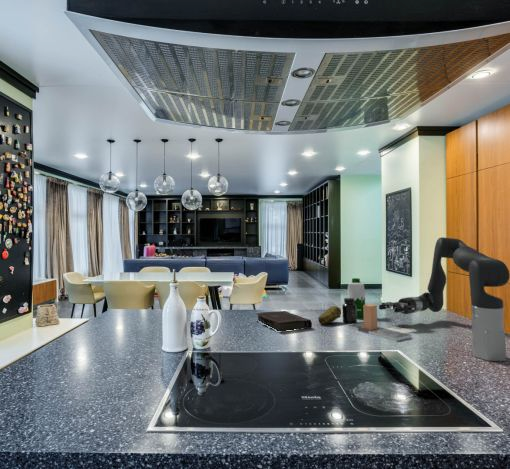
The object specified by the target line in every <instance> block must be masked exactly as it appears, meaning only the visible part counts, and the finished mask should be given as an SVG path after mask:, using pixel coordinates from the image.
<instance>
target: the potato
mask: <svg viewBox="0 0 510 469" xmlns="http://www.w3.org/2000/svg"><path fill="white" fill-rule="evenodd" d="M341 315H342V310H341V308H340V307H338V306H330V307H329V308H327V309H326V310H325V311H324V313H322V314H320V316H318V322H319V324H321V325H327V324H332V322H335V321H336V320H337V319H339V318H341Z"/></svg>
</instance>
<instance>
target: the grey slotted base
mask: <svg viewBox="0 0 510 469" xmlns="http://www.w3.org/2000/svg"><path fill="white" fill-rule="evenodd" d="M347 325H348V326H347V327H348V329H350V330H354V331H358V332H361V333H364V334H367V335H368V334H369V335H371V336H375V337H379V338H383V339H385V340H390V341H392V342H400V341H406V340H408V339H409V340H410V339H412V334H409V333H401V332H397V331H393V330H389V329H388V328H385V327H380V326H377V329H374V330H368V329H364V322H359V323H358V322H357V323H354V324H347Z"/></svg>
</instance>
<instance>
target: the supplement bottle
mask: <svg viewBox="0 0 510 469" xmlns="http://www.w3.org/2000/svg"><path fill="white" fill-rule="evenodd" d="M341 308H342V310H341V312H342V323H343V324H345V325H353V324H358V318H357V307H356V304H354V298H348V297H345V298H343V303H342V306H341Z"/></svg>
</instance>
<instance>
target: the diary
mask: <svg viewBox="0 0 510 469" xmlns="http://www.w3.org/2000/svg"><path fill="white" fill-rule="evenodd" d="M255 315H256V316H257V321H258V320H259V321H261V322H262V323H264V324H266V325H268V326H270V327H272V328H274V329H276V330H277V331H286V330H294V329H299V330H302V329H301V328H304V329H308V327H310V328H309V329H312V327H313V322H312V319H308V318H305V317H303V316H300V315H297V314H295V313H291V312H289V311H286V310H280V311H279V310H278V311H263V312H257V313H255ZM305 327H306V328H305Z"/></svg>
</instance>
